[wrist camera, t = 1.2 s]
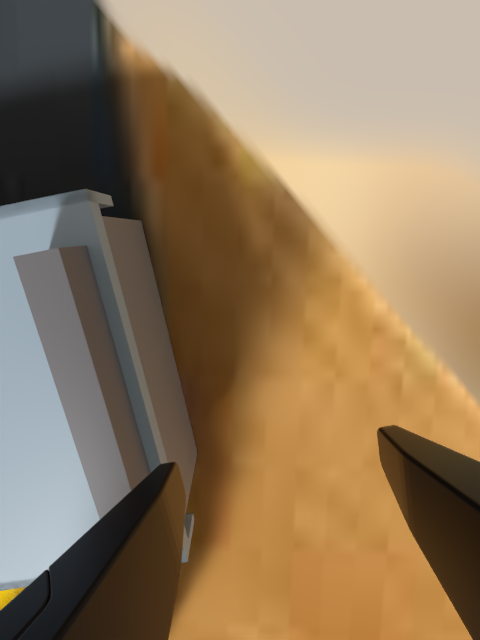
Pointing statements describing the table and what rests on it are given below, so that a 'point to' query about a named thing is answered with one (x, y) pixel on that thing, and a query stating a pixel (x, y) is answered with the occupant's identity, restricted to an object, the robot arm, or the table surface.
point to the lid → (65, 384)
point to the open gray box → (153, 342)
